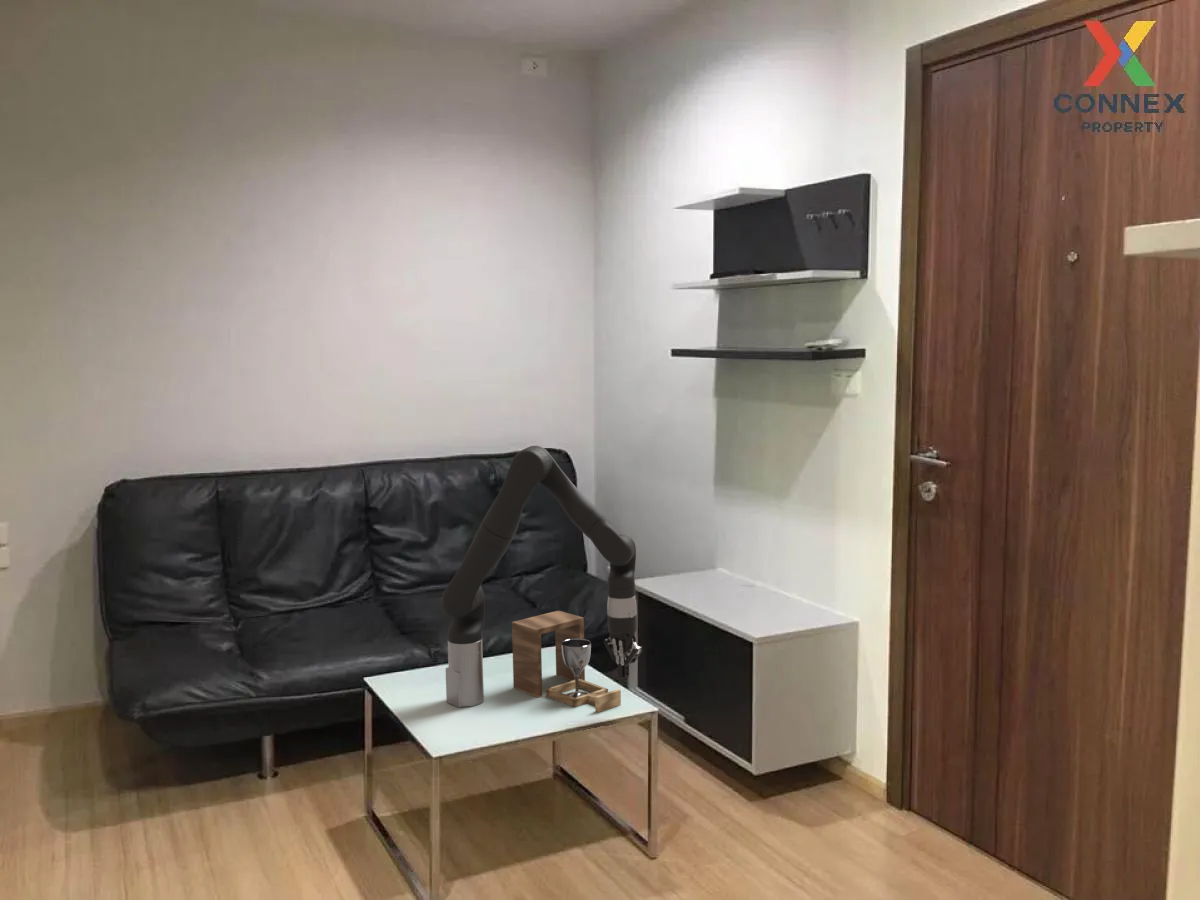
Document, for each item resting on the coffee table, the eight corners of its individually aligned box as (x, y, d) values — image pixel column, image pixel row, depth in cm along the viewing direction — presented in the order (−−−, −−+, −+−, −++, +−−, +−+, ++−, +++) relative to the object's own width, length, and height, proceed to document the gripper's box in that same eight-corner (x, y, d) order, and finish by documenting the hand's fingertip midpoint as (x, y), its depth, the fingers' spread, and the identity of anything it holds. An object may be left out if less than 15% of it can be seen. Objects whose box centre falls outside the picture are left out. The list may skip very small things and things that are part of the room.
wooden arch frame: (538, 697, 279) (536, 629, 277) (513, 687, 287) (511, 621, 285) (584, 682, 291) (583, 617, 288) (560, 673, 299) (558, 610, 297)
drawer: (592, 714, 266) (592, 699, 266) (546, 695, 281) (546, 681, 280) (626, 702, 274) (626, 688, 274) (579, 685, 289) (579, 671, 288)
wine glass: (588, 701, 275) (587, 647, 274) (559, 700, 277) (558, 646, 275) (594, 691, 283) (593, 639, 282) (566, 690, 285) (565, 637, 283)
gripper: (594, 611, 266) (595, 675, 268) (629, 620, 256) (630, 687, 258) (615, 605, 271) (616, 669, 273) (650, 614, 261) (651, 680, 263)
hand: (623, 677), depth 265 cm, fingers closed
